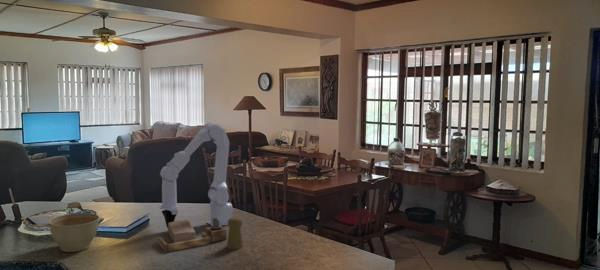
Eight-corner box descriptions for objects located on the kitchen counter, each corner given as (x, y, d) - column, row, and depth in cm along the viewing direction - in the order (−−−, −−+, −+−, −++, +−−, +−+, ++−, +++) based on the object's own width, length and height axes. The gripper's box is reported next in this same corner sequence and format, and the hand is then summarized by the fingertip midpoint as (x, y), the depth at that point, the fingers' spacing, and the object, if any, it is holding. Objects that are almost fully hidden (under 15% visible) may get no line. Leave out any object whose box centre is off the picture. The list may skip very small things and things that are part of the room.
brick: (196, 242, 165) (196, 230, 165) (173, 245, 162) (173, 233, 161) (188, 230, 180) (188, 219, 180) (167, 232, 177) (167, 221, 176)
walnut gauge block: (220, 235, 174) (220, 225, 173) (226, 239, 169) (226, 229, 168) (206, 237, 170) (206, 227, 170) (211, 242, 165) (211, 232, 165)
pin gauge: (216, 237, 171) (216, 217, 170) (220, 238, 170) (220, 218, 169) (211, 238, 169) (211, 218, 169) (215, 240, 168) (215, 220, 167)
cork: (246, 245, 163) (246, 216, 162) (238, 250, 157) (238, 220, 156) (231, 243, 165) (231, 214, 164) (223, 248, 159) (223, 219, 158)
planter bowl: (49, 259, 147) (47, 227, 146) (51, 244, 161) (50, 215, 160) (101, 251, 154) (100, 222, 153) (98, 238, 168) (98, 210, 167)
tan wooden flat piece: (200, 235, 173) (200, 229, 172) (210, 243, 164) (210, 237, 163) (157, 243, 163) (157, 236, 163) (166, 252, 154) (166, 245, 154)
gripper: (154, 192, 181) (155, 224, 182) (164, 200, 169) (165, 233, 170) (171, 190, 185) (171, 221, 186) (182, 197, 173) (182, 231, 174)
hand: (169, 227), depth 178 cm, fingers closed
